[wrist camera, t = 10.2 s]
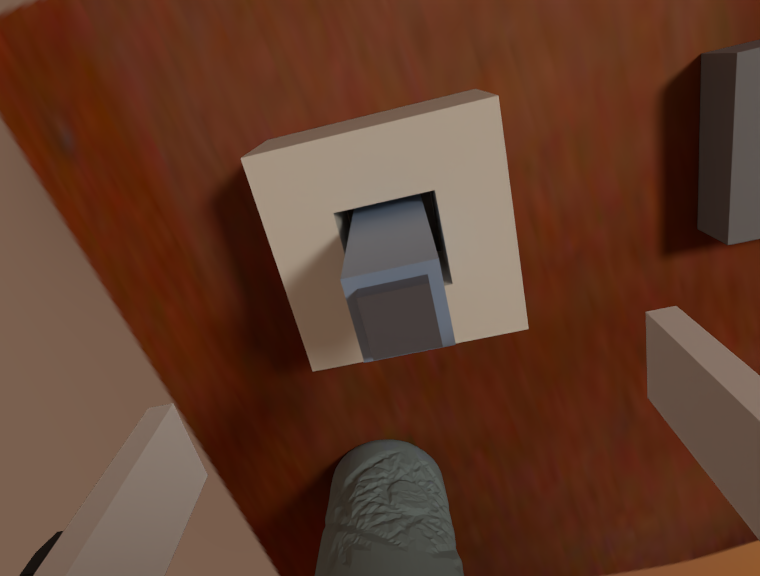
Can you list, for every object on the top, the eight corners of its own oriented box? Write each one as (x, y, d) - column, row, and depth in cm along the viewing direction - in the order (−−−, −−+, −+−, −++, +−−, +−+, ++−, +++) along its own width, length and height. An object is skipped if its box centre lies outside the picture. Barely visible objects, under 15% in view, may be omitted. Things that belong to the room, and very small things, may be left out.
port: (475, 88, 28) (498, 95, 22) (503, 284, 33) (528, 328, 27) (267, 140, 29) (240, 158, 23) (324, 321, 34) (312, 371, 28)
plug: (417, 183, 29) (441, 266, 17) (429, 242, 30) (458, 355, 19) (356, 197, 29) (338, 288, 17) (370, 255, 31) (363, 374, 19)
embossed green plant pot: (417, 413, 37) (432, 562, 26) (474, 504, 40) (508, 668, 29) (299, 463, 39) (266, 621, 28) (363, 545, 42) (356, 714, 31)
